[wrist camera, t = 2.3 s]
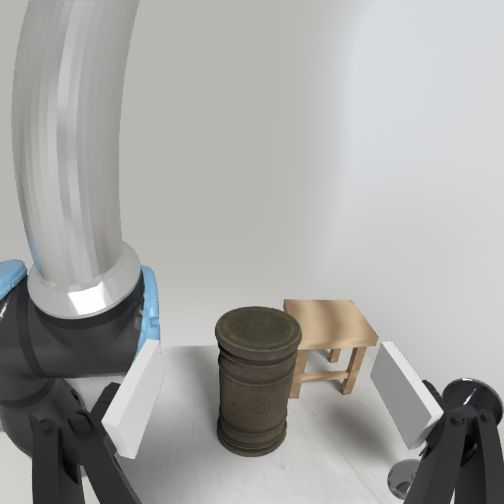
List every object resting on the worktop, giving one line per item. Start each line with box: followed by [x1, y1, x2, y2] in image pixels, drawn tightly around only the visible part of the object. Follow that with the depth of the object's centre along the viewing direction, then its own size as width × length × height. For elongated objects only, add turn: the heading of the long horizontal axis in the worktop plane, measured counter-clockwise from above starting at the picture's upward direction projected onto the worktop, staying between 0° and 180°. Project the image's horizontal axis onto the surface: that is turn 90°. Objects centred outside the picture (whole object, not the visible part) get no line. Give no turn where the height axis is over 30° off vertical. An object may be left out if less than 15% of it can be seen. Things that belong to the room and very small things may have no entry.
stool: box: [283, 299, 378, 398], centre depth 40 cm, size 12×12×12 cm
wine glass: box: [388, 378, 503, 500], centre depth 17 cm, size 8×8×15 cm
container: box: [215, 306, 302, 457], centre depth 28 cm, size 9×9×18 cm
